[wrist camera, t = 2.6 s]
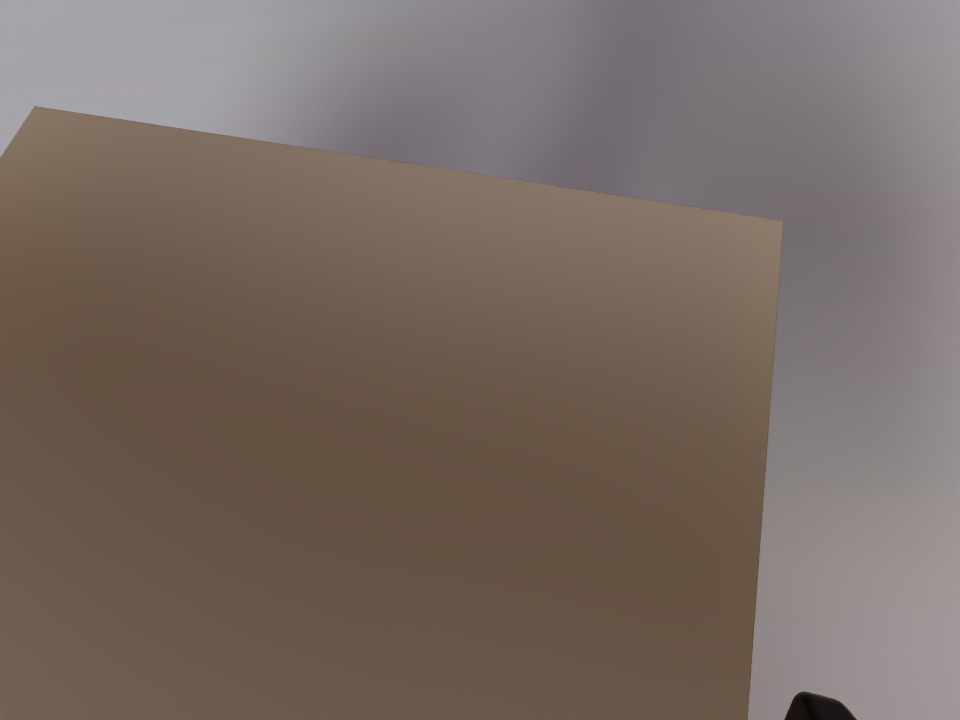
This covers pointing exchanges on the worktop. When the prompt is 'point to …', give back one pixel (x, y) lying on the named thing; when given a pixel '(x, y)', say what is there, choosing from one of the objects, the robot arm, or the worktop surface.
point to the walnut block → (370, 437)
